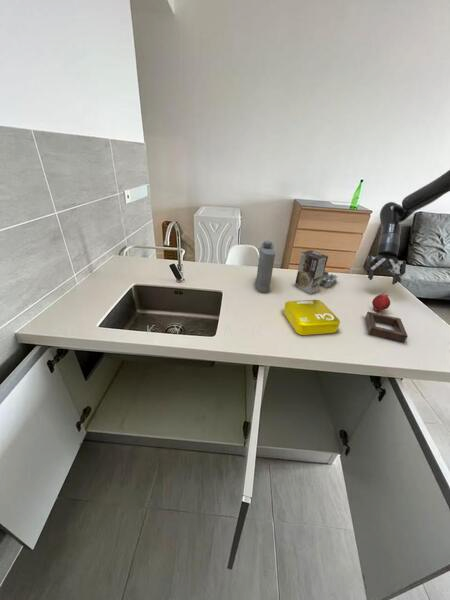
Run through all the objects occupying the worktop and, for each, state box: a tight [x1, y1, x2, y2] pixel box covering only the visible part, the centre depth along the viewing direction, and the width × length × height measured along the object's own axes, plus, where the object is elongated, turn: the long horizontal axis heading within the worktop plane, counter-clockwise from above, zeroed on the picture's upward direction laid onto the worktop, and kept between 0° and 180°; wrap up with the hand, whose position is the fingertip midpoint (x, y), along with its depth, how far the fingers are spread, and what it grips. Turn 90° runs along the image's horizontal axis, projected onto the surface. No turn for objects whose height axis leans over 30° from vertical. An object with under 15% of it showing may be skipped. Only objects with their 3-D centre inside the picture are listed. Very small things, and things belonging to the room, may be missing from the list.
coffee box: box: [294, 249, 329, 295], centre depth 105 cm, size 9×6×16 cm
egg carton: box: [320, 269, 339, 288], centre depth 114 cm, size 11×8×4 cm
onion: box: [371, 292, 391, 312], centre depth 94 cm, size 6×6×8 cm
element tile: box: [283, 299, 341, 336], centre depth 86 cm, size 15×15×5 cm
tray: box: [364, 311, 408, 344], centre depth 84 cm, size 11×11×3 cm
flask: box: [255, 240, 276, 294], centre depth 105 cm, size 15×6×20 cm, turn 174°
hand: (382, 281), depth 99 cm, fingers open, 8 cm apart
